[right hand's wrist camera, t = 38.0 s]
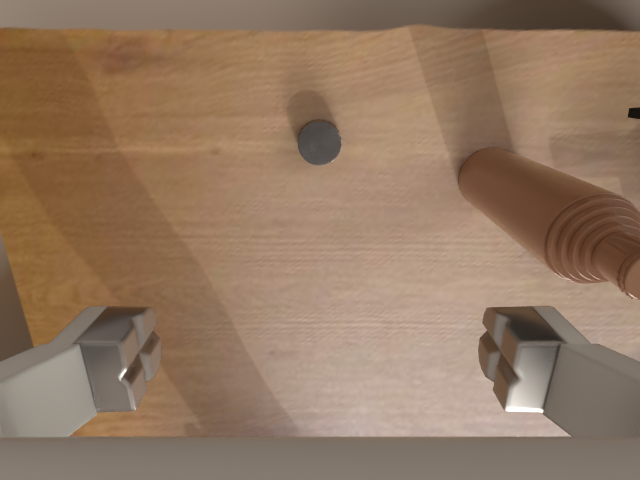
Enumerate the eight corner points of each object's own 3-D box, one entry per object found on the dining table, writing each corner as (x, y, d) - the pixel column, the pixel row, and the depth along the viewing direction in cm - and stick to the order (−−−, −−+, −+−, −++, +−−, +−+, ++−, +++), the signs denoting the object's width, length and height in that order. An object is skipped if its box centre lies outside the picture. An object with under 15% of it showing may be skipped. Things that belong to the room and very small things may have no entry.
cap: (290, 132, 41) (289, 134, 39) (328, 111, 40) (328, 112, 38) (310, 169, 42) (310, 173, 41) (347, 149, 42) (349, 152, 40)
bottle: (487, 134, 41) (665, 196, 20) (531, 170, 43) (742, 263, 21) (446, 184, 43) (568, 289, 22) (489, 216, 44) (645, 345, 23)
